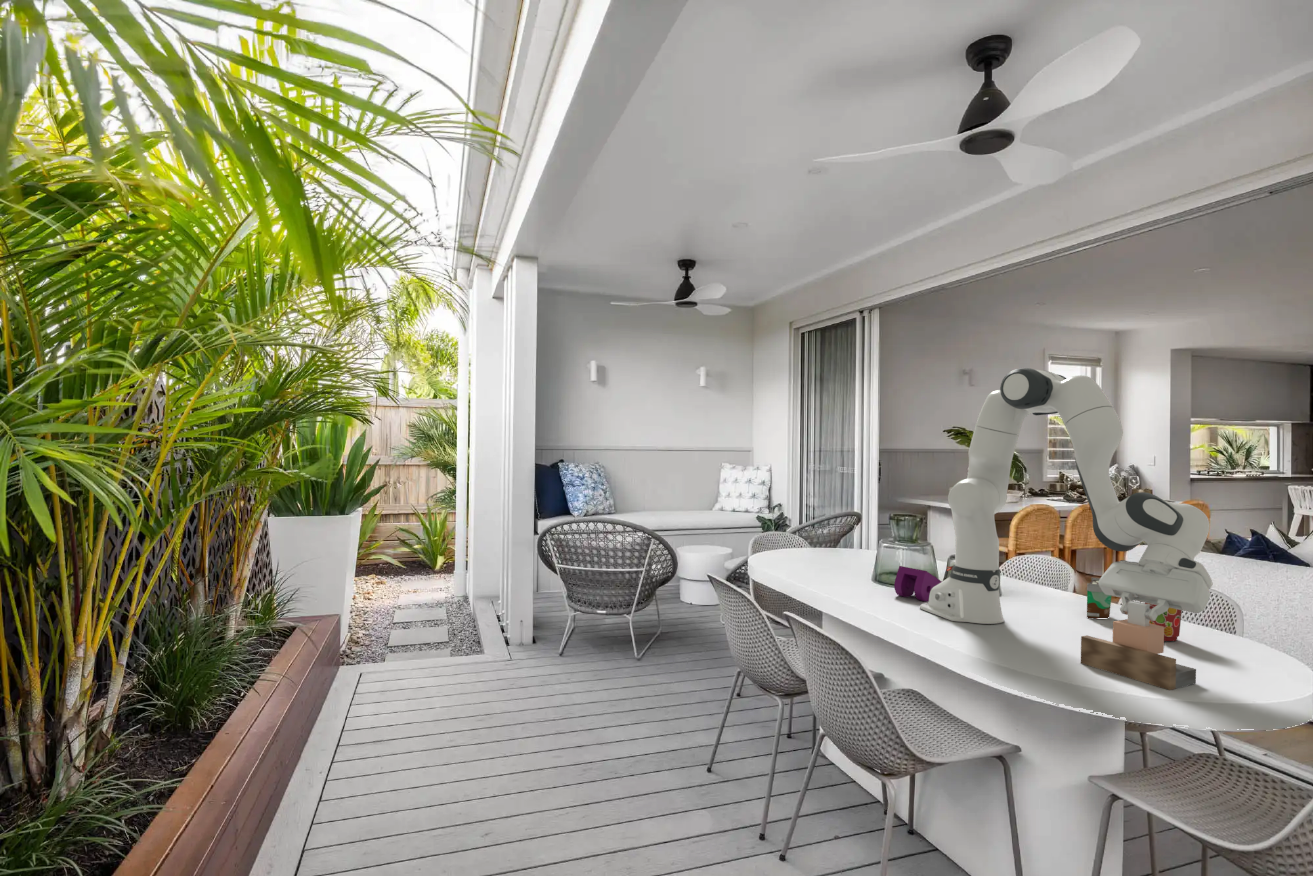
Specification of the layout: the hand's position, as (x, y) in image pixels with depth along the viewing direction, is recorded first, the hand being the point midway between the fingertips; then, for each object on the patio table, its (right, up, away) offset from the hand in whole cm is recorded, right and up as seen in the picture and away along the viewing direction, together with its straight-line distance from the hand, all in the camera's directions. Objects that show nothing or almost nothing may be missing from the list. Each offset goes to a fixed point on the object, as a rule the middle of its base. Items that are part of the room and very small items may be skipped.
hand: (1136, 615), depth 150 cm
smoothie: (+25, -13, +28) cm, 40 cm away
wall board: (0, -12, 0) cm, 12 cm away
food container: (+24, -13, +49) cm, 56 cm away
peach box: (0, -7, 0) cm, 7 cm away
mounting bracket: (-18, -12, +71) cm, 74 cm away
